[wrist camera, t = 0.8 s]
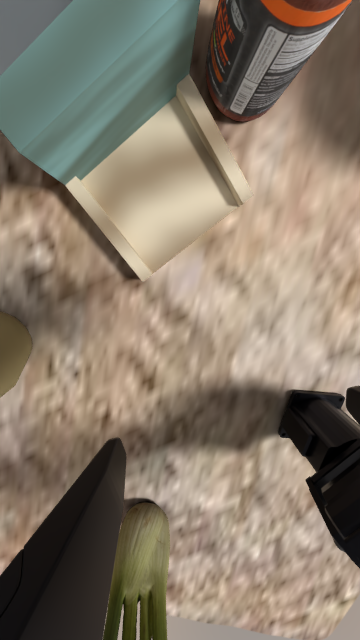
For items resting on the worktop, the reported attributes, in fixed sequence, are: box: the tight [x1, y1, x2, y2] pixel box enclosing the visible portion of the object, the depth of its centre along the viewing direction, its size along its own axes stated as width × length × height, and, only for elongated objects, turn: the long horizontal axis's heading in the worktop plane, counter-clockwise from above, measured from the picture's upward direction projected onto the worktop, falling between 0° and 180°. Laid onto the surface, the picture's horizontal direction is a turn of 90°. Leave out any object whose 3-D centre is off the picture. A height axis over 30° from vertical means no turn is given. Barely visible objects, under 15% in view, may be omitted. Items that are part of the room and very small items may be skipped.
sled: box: [0, 0, 254, 282], centre depth 14 cm, size 11×11×7 cm
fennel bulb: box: [103, 503, 170, 640], centre depth 22 cm, size 6×5×12 cm
